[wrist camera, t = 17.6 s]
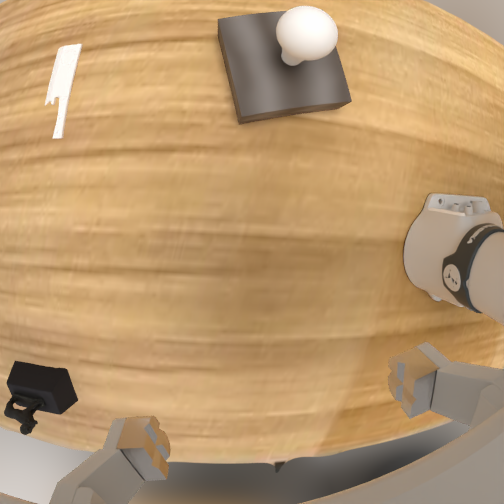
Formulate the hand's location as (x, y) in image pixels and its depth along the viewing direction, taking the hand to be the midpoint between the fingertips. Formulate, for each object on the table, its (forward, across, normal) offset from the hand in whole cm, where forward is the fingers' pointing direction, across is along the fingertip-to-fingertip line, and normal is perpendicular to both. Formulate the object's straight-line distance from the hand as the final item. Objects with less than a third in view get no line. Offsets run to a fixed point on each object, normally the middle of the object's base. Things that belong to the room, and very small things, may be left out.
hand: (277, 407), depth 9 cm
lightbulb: (+28, -11, -20) cm, 37 cm away
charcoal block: (+33, -11, -21) cm, 41 cm away
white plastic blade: (+34, +21, -28) cm, 48 cm away
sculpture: (+33, +41, +18) cm, 56 cm away
